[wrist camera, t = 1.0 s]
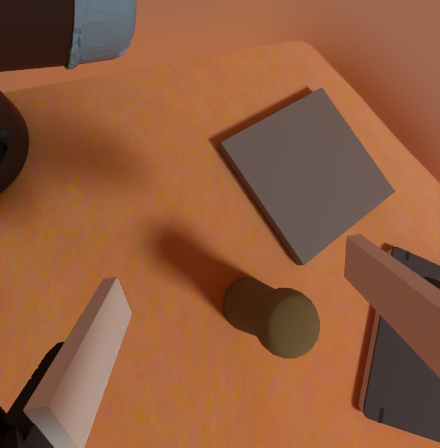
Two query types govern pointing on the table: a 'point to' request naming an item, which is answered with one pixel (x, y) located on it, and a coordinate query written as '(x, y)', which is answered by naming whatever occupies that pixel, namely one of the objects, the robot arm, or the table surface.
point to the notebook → (401, 372)
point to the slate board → (306, 174)
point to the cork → (273, 316)
